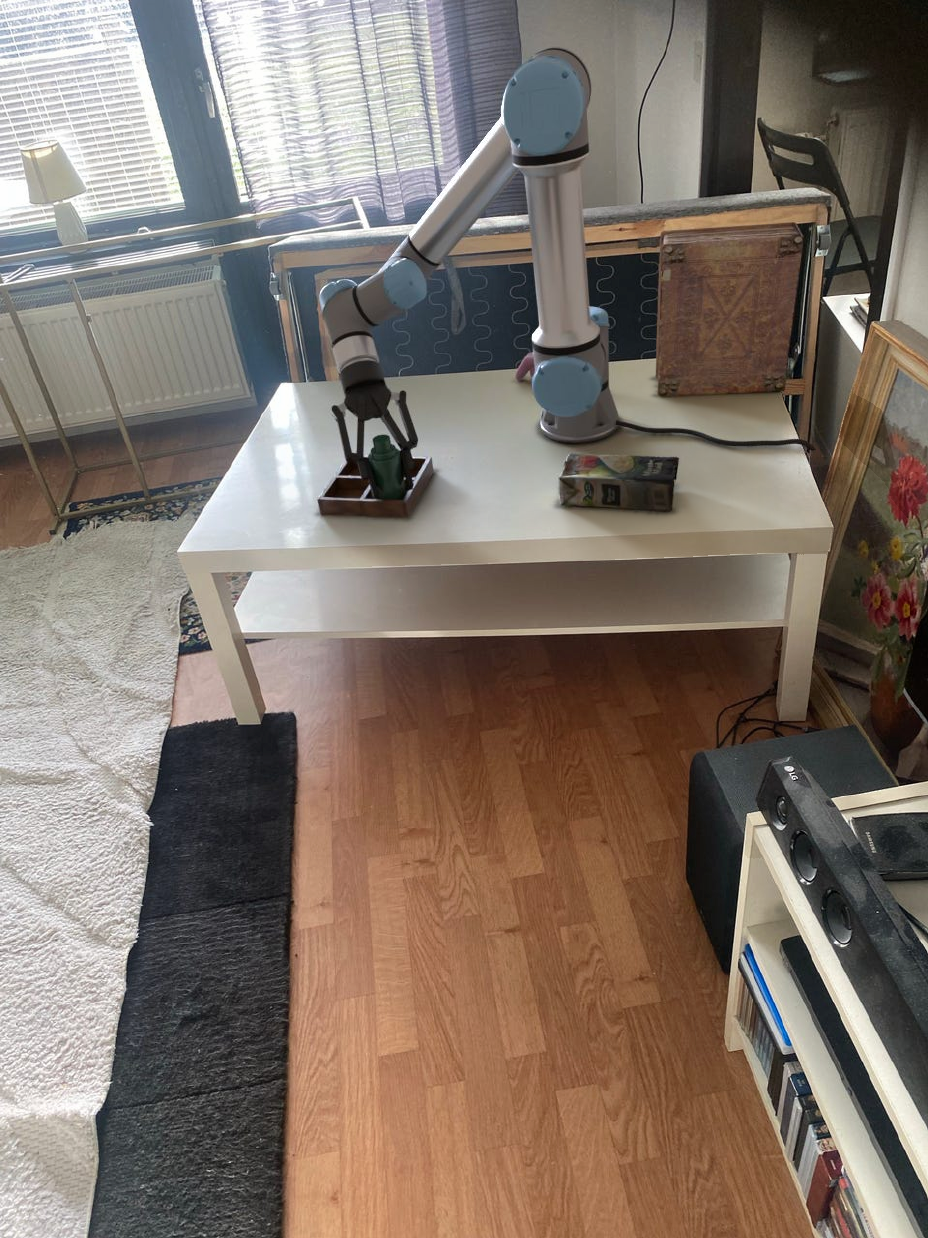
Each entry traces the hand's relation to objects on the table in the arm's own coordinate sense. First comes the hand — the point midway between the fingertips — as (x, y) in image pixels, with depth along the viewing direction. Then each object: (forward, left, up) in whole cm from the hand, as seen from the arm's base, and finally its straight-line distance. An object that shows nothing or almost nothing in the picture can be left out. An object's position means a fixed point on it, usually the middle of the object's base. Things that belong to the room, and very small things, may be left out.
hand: (393, 491), depth 157 cm
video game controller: (-15, -57, -5) cm, 59 cm away
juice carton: (-37, -9, -5) cm, 39 cm away
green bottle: (+2, -3, -4) cm, 5 cm away
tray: (+6, -7, -4) cm, 10 cm away
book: (-53, -55, -5) cm, 77 cm away
